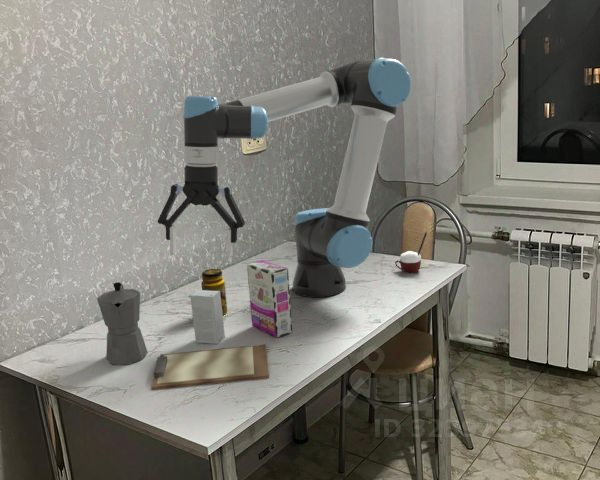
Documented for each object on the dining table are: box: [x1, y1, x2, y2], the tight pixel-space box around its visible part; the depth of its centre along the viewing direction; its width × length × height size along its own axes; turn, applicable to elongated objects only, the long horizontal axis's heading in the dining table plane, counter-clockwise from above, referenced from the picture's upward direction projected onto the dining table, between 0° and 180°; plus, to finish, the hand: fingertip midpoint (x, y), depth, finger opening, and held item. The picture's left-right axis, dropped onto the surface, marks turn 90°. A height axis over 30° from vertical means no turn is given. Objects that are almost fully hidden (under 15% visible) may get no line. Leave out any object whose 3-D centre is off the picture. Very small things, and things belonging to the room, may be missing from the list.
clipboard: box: [151, 343, 270, 391], centre depth 143 cm, size 24×16×2 cm, turn 95°
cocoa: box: [394, 231, 428, 274], centre depth 197 cm, size 10×6×12 cm, turn 57°
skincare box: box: [189, 289, 226, 345], centre depth 156 cm, size 6×4×12 cm
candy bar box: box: [246, 260, 293, 338], centre depth 160 cm, size 11×5×16 cm, turn 37°
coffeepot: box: [96, 282, 149, 366], centre depth 150 cm, size 15×9×18 cm, turn 13°
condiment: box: [201, 268, 234, 317], centre depth 173 cm, size 7×8×12 cm
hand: (201, 254), depth 156 cm, fingers open, 13 cm apart
